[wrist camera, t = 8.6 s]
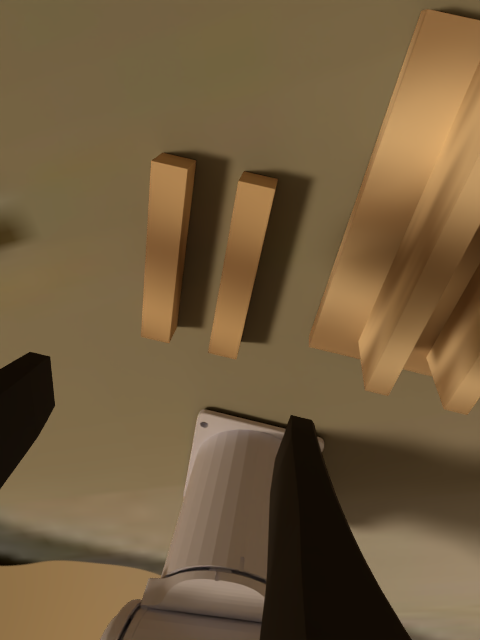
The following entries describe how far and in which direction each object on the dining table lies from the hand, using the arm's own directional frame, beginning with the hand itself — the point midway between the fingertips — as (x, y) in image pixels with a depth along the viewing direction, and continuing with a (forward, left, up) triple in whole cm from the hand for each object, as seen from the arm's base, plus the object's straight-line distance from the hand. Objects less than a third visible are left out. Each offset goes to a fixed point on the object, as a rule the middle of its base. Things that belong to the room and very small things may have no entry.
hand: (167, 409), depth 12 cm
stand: (0, +1, -10) cm, 10 cm away
